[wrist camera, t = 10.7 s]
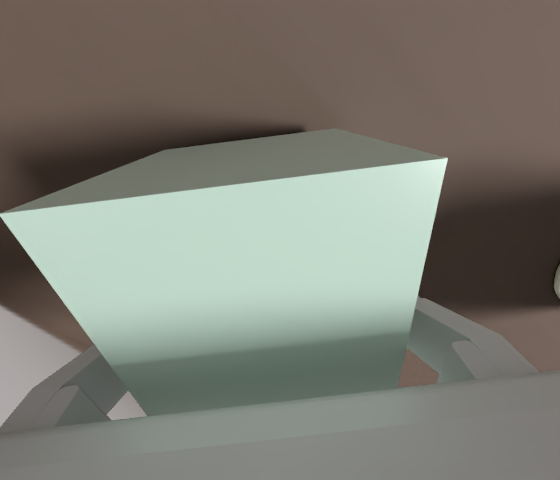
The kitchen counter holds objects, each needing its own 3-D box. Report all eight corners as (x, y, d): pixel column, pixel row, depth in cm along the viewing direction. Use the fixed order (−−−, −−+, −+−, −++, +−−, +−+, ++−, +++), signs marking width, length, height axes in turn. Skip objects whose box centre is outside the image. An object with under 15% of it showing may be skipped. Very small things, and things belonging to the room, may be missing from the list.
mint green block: (164, 149, 10) (-3, 214, 4) (335, 128, 10) (447, 158, 4) (222, 326, 15) (191, 475, 9) (335, 313, 15) (382, 454, 9)
